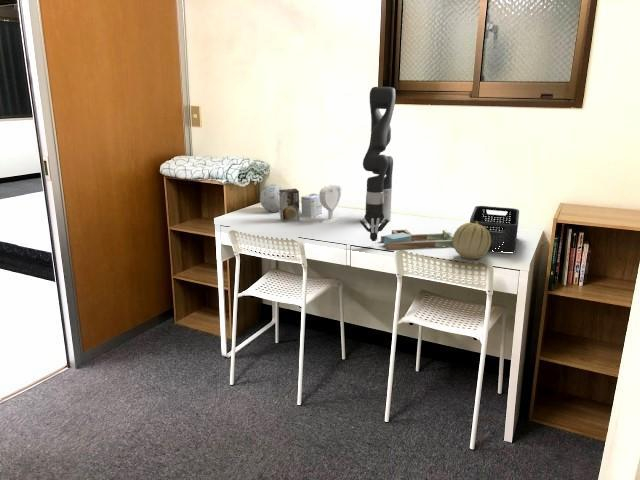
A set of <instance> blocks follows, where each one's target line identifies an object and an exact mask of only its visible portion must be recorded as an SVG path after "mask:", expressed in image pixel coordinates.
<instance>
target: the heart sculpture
mask: <svg viewBox="0 0 640 480" xmlns="http://www.w3.org/2000/svg"><path fill="white" fill-rule="evenodd" d="M319 194H320V195H319V197H320V202H321V205H322V208H324V209H326V210H327V211H328V212H327V213H328V214H327V215H328V216H327V219H324V220H322V221H321V223H322V224H331V223H333V222H335V221H338V220H340V219H341V218H340V217H338V216H337V217H335V216H334V215H333V214H334V211H335V209H336V207H337V206H338V205H339V202H340V200H341V197H342V187H341V186H340V185H336V184H329V185H328V186H324V187H322V188H321V189H320V190H319Z"/></svg>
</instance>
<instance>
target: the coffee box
mask: <svg viewBox="0 0 640 480" xmlns="http://www.w3.org/2000/svg"><path fill="white" fill-rule="evenodd" d="M299 192H300V190H298V189H297V188H285V189H284V188H283V190H279V196H280V211H279V215H280V217H279V218H280V221H281V222H282V223H283V222H284V223H291V222H293V223H294V222H300V220H301V219H300V217H301V215H300V214H301V213H300V193H299Z"/></svg>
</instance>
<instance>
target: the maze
mask: <svg viewBox="0 0 640 480" xmlns="http://www.w3.org/2000/svg"><path fill="white" fill-rule="evenodd" d="M397 233H406V234H408V235H411V242H400V243H387V246H386V248H387V250H389V251H390V250H391V251H393V250H399V249H398V248H406V249H407V250H409V249H426V248H425V247H431V248H443V247H442V246H452V247H454V246H453V236H454V234H452V233H451V231H449V230H447V229H442V232H439V233H437V232H435V233H421V234H412V233H411V232H410V231H409V230H407V229H395V230H394V229H392V230H391V234H397ZM439 239H440V240H439ZM384 240H385V235H381V236H380V243H384ZM415 240H421V241H415ZM406 249H405V250H406Z"/></svg>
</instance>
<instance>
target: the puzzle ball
mask: <svg viewBox="0 0 640 480" xmlns="http://www.w3.org/2000/svg"><path fill="white" fill-rule="evenodd" d="M283 189H284V188H283V187H281V185H278V184H269V185H267V186H265V187H264V188H263V189H262V190H261V191H260V194H259V202H260V204H261V207H262V208H263V209H265V210H266V211H268V212H272V213H275V212H276V213H277V212H280V196H279V190H283Z"/></svg>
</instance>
